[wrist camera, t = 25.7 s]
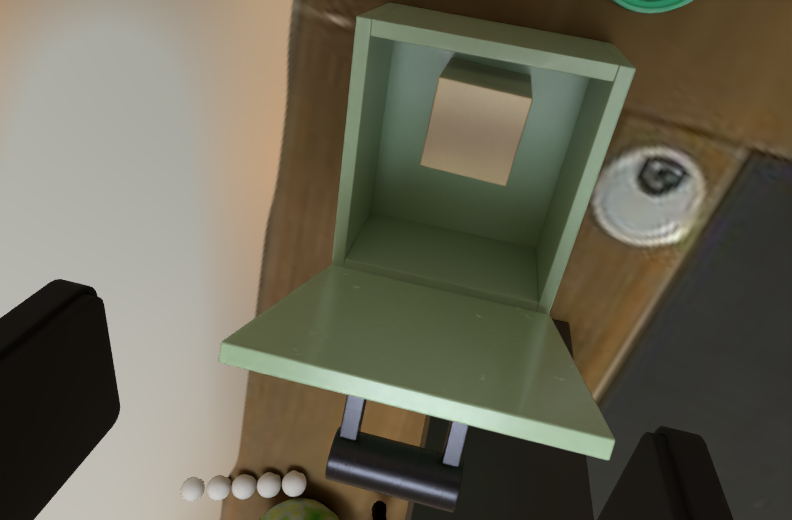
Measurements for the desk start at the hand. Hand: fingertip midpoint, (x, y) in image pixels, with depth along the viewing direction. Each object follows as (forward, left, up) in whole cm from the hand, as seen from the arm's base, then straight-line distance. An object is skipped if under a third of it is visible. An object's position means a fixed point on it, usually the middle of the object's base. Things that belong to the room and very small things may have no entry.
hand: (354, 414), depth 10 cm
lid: (+8, +1, -14) cm, 17 cm away
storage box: (+4, +1, -30) cm, 30 cm away
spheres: (+44, -16, -29) cm, 54 cm away
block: (+2, +1, -29) cm, 29 cm away
